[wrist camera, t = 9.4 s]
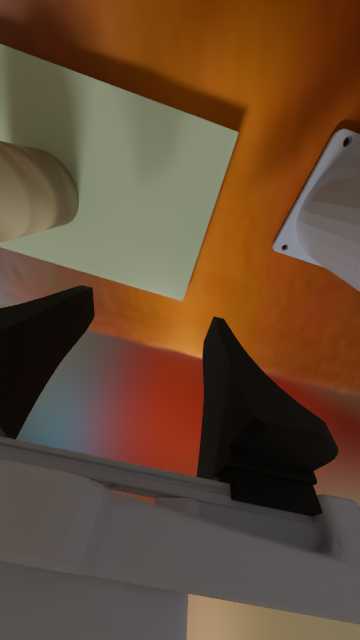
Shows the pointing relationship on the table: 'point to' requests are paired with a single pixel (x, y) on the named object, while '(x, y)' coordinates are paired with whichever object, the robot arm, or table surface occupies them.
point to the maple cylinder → (33, 192)
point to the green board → (116, 173)
